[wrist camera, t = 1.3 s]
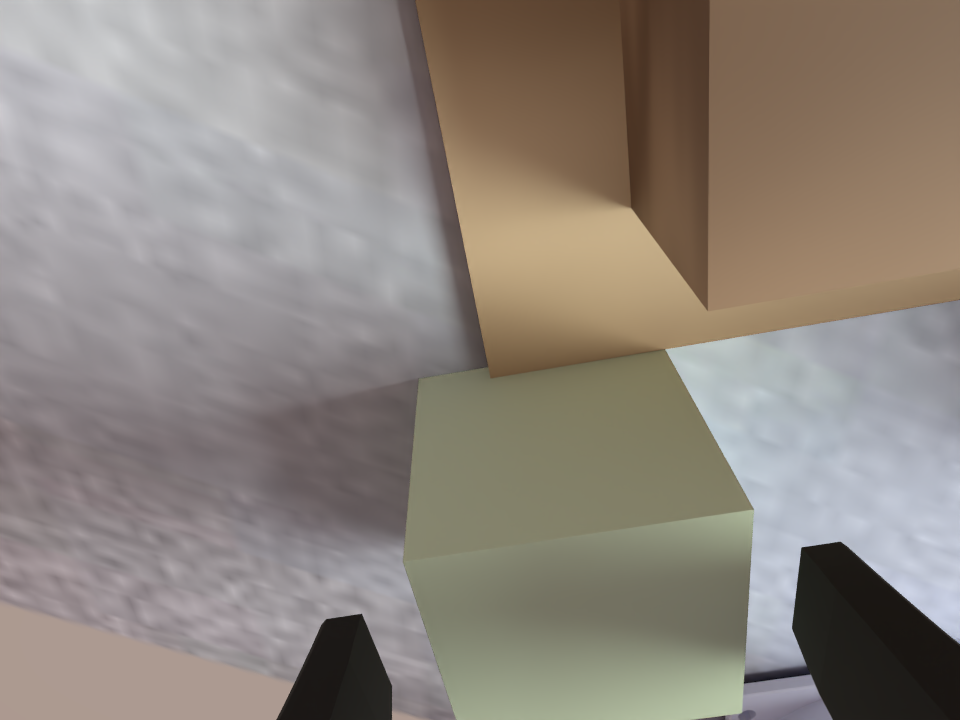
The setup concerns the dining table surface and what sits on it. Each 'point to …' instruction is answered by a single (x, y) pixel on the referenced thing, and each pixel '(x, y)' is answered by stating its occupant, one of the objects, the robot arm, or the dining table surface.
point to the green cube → (578, 545)
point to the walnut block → (794, 141)
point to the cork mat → (577, 196)
